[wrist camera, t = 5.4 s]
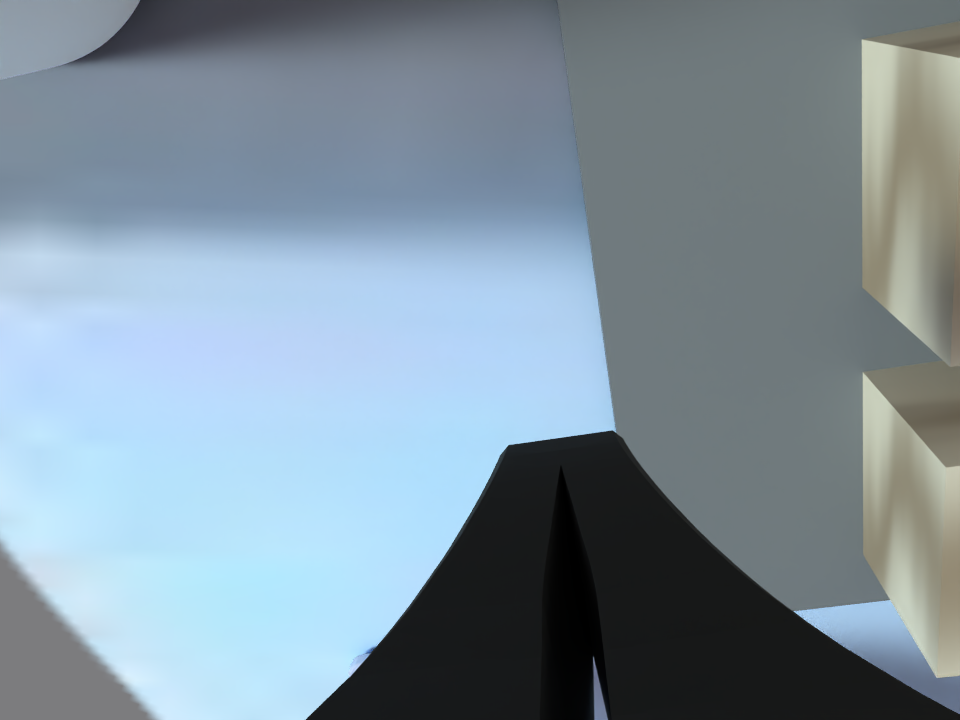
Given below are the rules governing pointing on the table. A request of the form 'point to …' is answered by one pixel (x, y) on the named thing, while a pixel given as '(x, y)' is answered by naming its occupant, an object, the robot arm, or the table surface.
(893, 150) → the plain block
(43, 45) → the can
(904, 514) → the beige square block
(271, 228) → the table surface
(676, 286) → the mat
